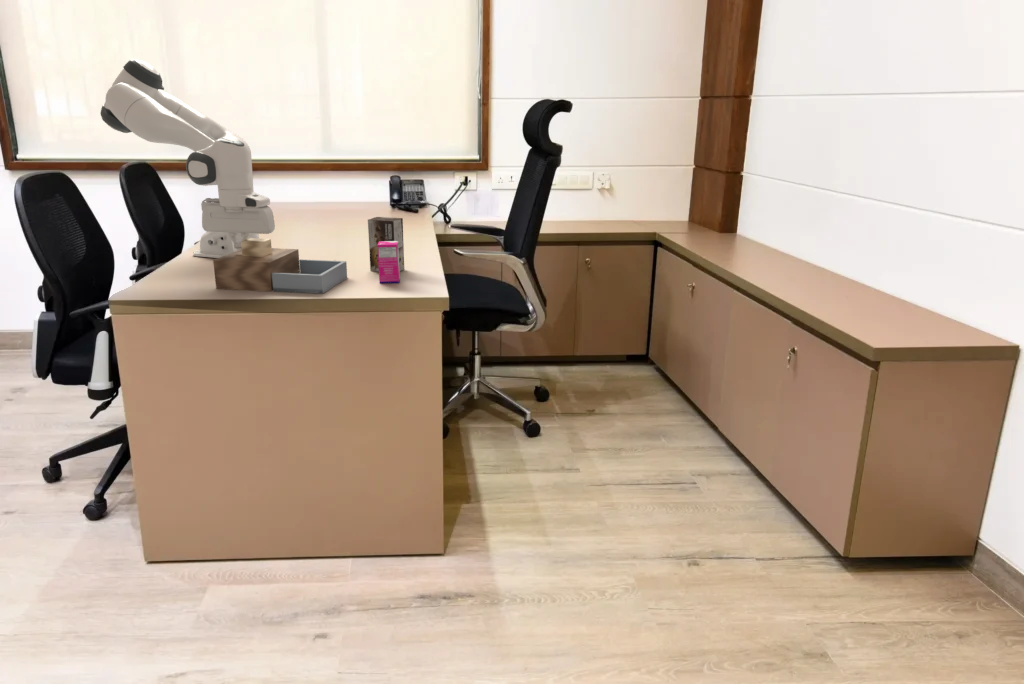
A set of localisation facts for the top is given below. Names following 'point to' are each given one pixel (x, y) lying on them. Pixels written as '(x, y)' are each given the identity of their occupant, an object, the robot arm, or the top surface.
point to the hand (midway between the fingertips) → (240, 248)
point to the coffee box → (385, 238)
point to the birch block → (256, 247)
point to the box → (311, 277)
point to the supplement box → (388, 262)
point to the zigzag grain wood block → (254, 269)
